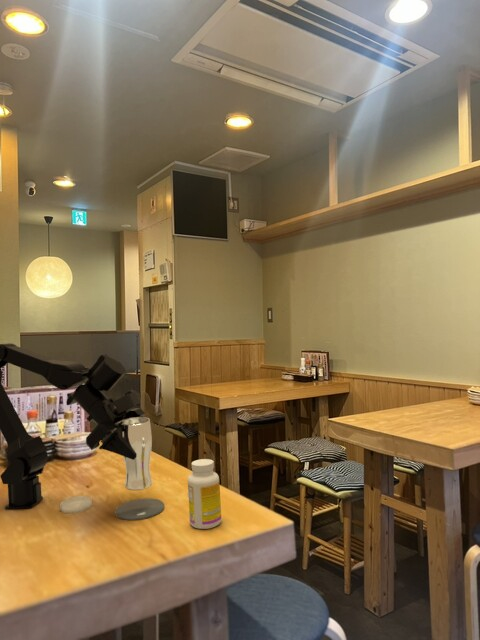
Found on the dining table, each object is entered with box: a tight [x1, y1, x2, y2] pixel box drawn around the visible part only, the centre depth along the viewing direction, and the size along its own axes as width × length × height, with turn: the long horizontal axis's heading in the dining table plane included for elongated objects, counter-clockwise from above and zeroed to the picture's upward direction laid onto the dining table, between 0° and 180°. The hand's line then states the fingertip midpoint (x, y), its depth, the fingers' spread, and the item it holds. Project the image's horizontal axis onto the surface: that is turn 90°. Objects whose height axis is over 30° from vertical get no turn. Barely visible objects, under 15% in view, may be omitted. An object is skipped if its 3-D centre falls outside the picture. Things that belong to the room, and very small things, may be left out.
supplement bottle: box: [187, 458, 222, 530], centre depth 99 cm, size 7×7×13 cm
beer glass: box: [121, 416, 153, 491], centre depth 108 cm, size 7×7×15 cm
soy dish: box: [59, 495, 93, 514], centre depth 112 cm, size 7×7×1 cm
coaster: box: [114, 497, 165, 521], centre depth 108 cm, size 11×11×1 cm
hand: (142, 453), depth 108 cm, fingers closed on beer glass, 6 cm apart
